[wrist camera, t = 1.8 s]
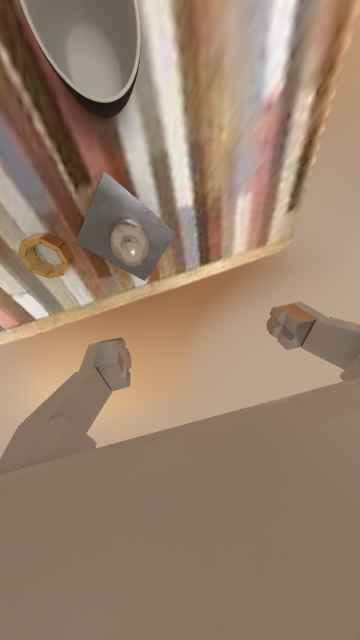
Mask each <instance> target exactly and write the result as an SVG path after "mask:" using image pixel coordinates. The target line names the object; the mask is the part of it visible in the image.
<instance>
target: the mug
mask: <svg viewBox="0 0 360 640" xmlns="http://www.w3.org/2000/svg"><path fill="white" fill-rule="evenodd" d="M19 1H20V4H21V6H22V9H23V12H24V14H25V17H26V19H27V22H28V24H29V26H30V29H31V31H32V33H33V35H34V37H35V39H36V41H37V43H38V45H39V47H40V49H41V50H42V52H43V54H44V56H45V57H46V59H47V61H48V62H49V64H50V65H51V67H52V68H53V70H54V72H55V73H56V74H57V76H58V77H59V79H60V80H61V81H62V83H63V84H64V85H65V87H66V88H67V89H68V90H69V92H70V93H71V94H72V95H73V96H74V98H75V99H76V100H77V101H78V102H79V103H80V104H81V105H82V106H84V107H85V108H86V109H87V110H89V111H90V112H92V113H93V114H95V115H98V116H101V117H112V116H115V115H116V114H118V113H119V112H120V111H121V110H122V109H123V108H124V107H125V105H126V103H127V102H128V100H129V98H130V95H131V93H132V90H133V87H134V84H135V81H136V77H137V73H138V67H139V61H140V51H141V28H140V17H139V9H138V2H137V0H19Z"/></svg>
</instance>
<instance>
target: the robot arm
mask: <svg viewBox="0 0 360 640" xmlns="http://www.w3.org/2000/svg"><path fill="white" fill-rule="evenodd" d="M270 315H271V317H270V318H269V320H268V322H267V329H268V331H269V333H270V334H271V335H272V336H274V337H276V338H278V342H279V343H280V344H281V345H282V346H283V347H284V348H285V349H286V350H288V349H293V348H298V347H301V348H303V349H305V350H307V351H309V352H311V353H313V354H315V355H316V356H319V357H320V358H323V359H324V360H326V361H328V362H330V363H332V364H334V365H336V366H338V367H340V368H342V369H344V371H343V372H342V373H341V375H340V378H341V379H342V380H344V382H340V383H336V384H333V385H329V386H325V387H321V388H318V389H314V390H310V391H307V392H303V393H299V394H295V395H292V396H288V397H284V398H280V399H277V400H273V401H269V402H266V403H262V404H258V405H255V406H251V407H247V408H243V409H240V410H236V411H232V412H229V413H225V414H222V415H218V416H214V417H210V418H206V419H203V420H199V421H195V422H192V423H188V424H184V425H181V426H177V427H173V428H169V429H166V430H162V431H158V432H155V433H151V434H147V435H144V436H140V437H136V438H133V439H129V440H125V441H121V442H118V443H114V444H110V445H107V446H103V447H99V448H96V442H95V441H94V440H93V439H92V438H91V437H90V436H88V435H87V434H86V433H87V431H88V430H89V428H90V427H91V425H92V423H93V422H94V420H95V419H96V417H97V415H98V414H99V412H100V411H101V409H102V407H103V406H104V404H105V403H106V401H107V399H108V398H109V396H110V395H111V393H112V391H115V390H118V389H122V388H126V387H129V386H130V372H129V369H130V368H131V357H130V353H129V350H128V349H127V348H125V341H124V339H123V338H117V339H112V340H107V341H101V342H96V343H91V344H90V345H89V346H88V348H87V351H86V354H85V356H84V359H83V362H82V364H81V367H80V370H79V372H75V373H74V374H73V375H72V376H71V377H70V378H69V379H68V380H67V381H66V382H65V383H63V384H62V385H61V386H60V387H59V388H58V389H57V390H56V391H55V392H54V393H53V394H52V395H51V396H50V397H49V398H48V399H47V400H46V401H44V402H43V403H42V404H41V405H40V406H39V407H38V408H37V409H36V410H35V411H34V412H33V413H32V414H31V415H30V416H29V417H28V418H26V419H25V420H24V422H22V423H21V424H20V425H19V426H18V428H17V429H16V431H15V433H14V435H13V437H12V438H11V440H10V442H9V444H8V446H7V448H6V449H5V451H4V453H3V455H2V457H1V459H0V640H360V325H359V324H355V323H351V322H347V321H344V320H340V319H336V318H332V317H329V318H328V317H326V316H324V315H323V314H321V313H319V312H318V311H316V310H314V309H313V308H311V307H309V306H308V305H306V304H304V303H302V302H297V303H292V304H288V305H283V306H279V307H274V308H273V309H272V310H271V312H270Z"/></svg>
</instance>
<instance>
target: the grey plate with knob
mask: <svg viewBox="0 0 360 640" xmlns="http://www.w3.org/2000/svg"><path fill="white" fill-rule="evenodd" d="M175 234H176V232H175V231H174V230H172V229H171V228H170V227H169V226H168V225H167V224H165V223H164V222H163V221H162V220H161V219H160V218H158V217H157V216H156V215H155V214H154V213H153V212H151V211H150V210H149V209H148V208H147V207H146V206H144V205H143V204H142V203H141V202H140V201H139V200H137V199H136V198H135V197H134V196H133V195H132V194H131V193H129V192H128V191H127V190H126V189H125V188H124V187H122V186H121V185H120V184H119V183H118V182H117V181H115V180H114V179H113V178H112V177H111V176H110V175H108V174H107V173H106V172H105V171H104V173H103V175H102V178H101V180H100V183H99V185H98V188H97V190H96V193H95V195H94V198H93V200H92V203H91V205H90V208H89V210H88V213H87V215H86V218H85V220H84V223H83V225H82V228H81V230H80V233H79V235H78V238H77V240H76V244H78V245H80V246H82V247H83V248H85V249H87V250H89V251H91V252H93V253H94V254H96V255H98V256H100V257H102V258H104V259H105V260H107V261H109V262H111V263H113V264H115V265H116V266H118V267H120V268H122V269H124V270H126V271H128V272H129V273H131V274H133V275H135V276H137V277H139V278H140V279H142V280H144V281H145V280H146V278H147V277H148V275H149V274H150V272H151V271H152V269H153V268H154V266H155V265H156V263H157V262H158V260H159V259H160V257H161V255H162V254H163V252H164V251H165V249H166V248H167V246H168V245H169V243H170V242H171V240H172V239H173V237H174V236H175Z"/></svg>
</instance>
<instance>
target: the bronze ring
mask: <svg viewBox="0 0 360 640" xmlns="http://www.w3.org/2000/svg"><path fill="white" fill-rule="evenodd" d="M37 244H42V245H44V246H46V247H48V248H50V249H52V250H54V251H56V253H57V254H58V256H59V258H60V259H61V261H62V264H59V265H51V264H49V263H47V262H44V261H42V260H41V259H40V258H39V256H38V255H37V253H36V252H35V251H34V247H35V245H37ZM18 257H19V258H20V260H21V261H22V262H23V263H24V265H25V266H26V267H27V268H28V270H29V271H31V272H33V273H36V274H38V275H41V276H43V277H46V278H52V277H57V276H62V275H64V273H65V272H66V270H67V268H68V266H69V264H70V262H71V259H72V257H73V255H72V254H71V252H70V250H69V248H68V246H67V245H66V243H65V242H64V241H63V240H61V239H59V238H57V237H55V236H53V235H51V234H49V233H41V234H35V235H31V236H29V237H28V238H26V239H25V240H23V241H22V242H21V244H20V248H19V252H18Z"/></svg>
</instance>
